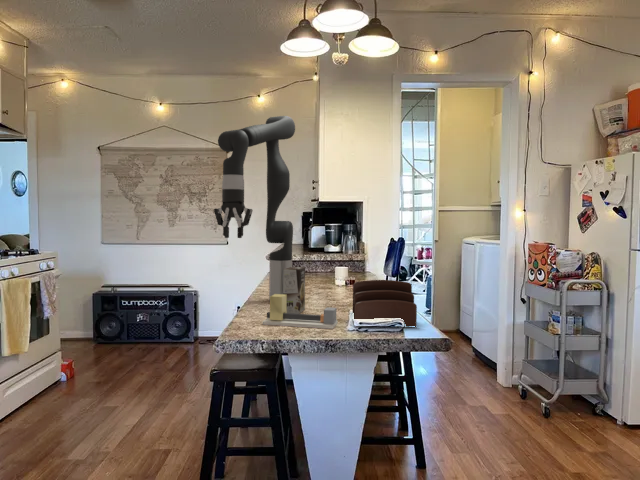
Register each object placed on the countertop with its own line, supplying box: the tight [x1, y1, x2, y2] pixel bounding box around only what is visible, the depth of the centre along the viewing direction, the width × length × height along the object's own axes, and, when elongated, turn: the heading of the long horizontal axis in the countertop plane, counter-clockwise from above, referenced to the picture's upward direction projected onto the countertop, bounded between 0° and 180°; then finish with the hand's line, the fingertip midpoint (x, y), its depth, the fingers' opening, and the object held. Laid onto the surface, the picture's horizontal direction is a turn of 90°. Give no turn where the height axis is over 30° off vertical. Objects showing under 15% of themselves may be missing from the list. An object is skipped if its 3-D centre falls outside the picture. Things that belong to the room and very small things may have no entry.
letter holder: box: [352, 279, 418, 328], centre depth 148 cm, size 10×20×14 cm, turn 89°
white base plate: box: [262, 307, 339, 330], centre depth 147 cm, size 8×23×5 cm, turn 77°
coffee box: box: [283, 266, 306, 314], centre depth 167 cm, size 9×6×16 cm
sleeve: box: [269, 294, 287, 320], centre depth 148 cm, size 5×4×8 cm
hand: (233, 237), depth 158 cm, fingers open, 4 cm apart
